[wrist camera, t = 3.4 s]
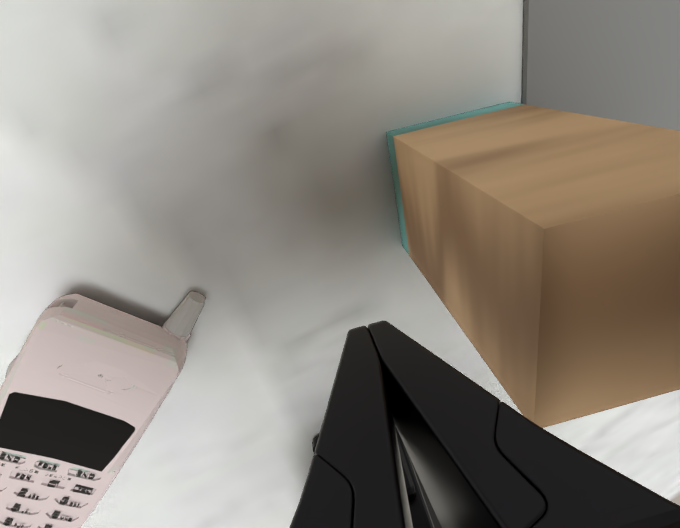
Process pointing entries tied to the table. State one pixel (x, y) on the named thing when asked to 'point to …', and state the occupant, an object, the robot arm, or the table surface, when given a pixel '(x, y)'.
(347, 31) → the table surface
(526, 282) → the oak block
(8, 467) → the mobile phone
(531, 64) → the charcoal mat
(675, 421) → the table surface
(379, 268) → the table surface
